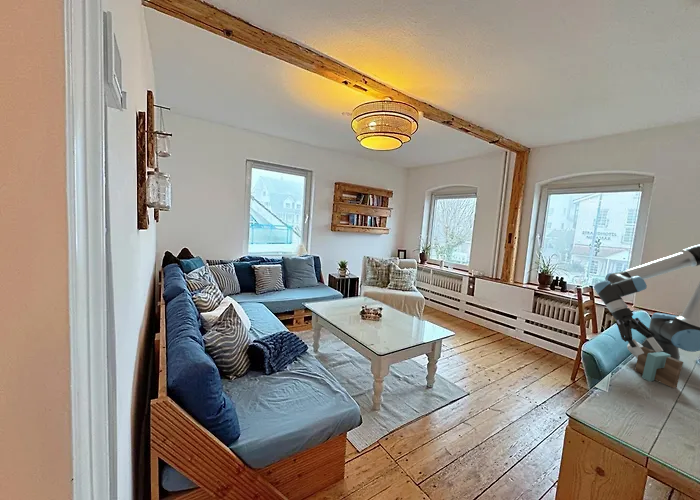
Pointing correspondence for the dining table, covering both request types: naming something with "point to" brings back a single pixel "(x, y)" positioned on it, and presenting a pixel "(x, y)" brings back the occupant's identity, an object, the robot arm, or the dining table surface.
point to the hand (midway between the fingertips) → (650, 353)
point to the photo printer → (633, 350)
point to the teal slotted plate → (654, 364)
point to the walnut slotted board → (662, 369)
